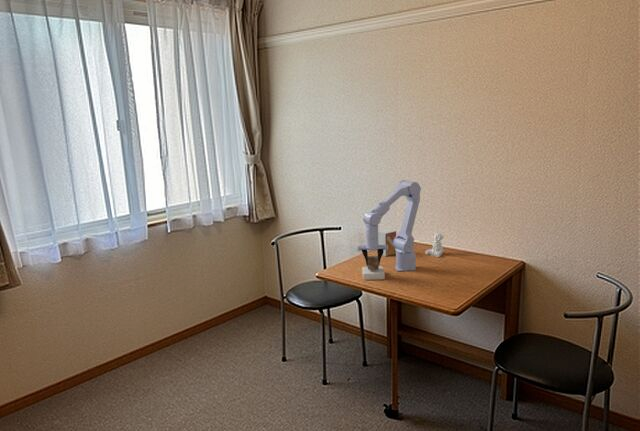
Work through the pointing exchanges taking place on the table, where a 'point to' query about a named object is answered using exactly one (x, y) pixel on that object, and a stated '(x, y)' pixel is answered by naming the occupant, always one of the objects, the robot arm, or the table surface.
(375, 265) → the walnut cube
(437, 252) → the white creature statuette
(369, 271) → the base block
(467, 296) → the table surface
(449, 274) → the table surface
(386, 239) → the small box
